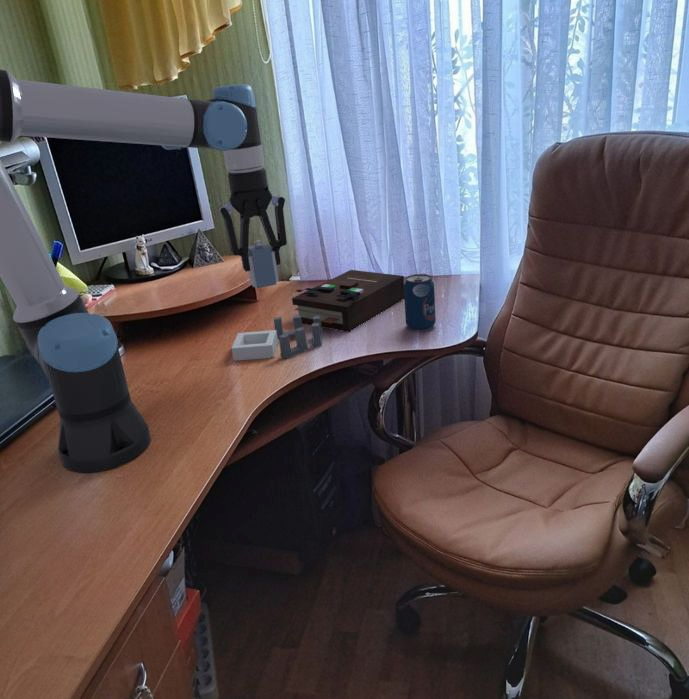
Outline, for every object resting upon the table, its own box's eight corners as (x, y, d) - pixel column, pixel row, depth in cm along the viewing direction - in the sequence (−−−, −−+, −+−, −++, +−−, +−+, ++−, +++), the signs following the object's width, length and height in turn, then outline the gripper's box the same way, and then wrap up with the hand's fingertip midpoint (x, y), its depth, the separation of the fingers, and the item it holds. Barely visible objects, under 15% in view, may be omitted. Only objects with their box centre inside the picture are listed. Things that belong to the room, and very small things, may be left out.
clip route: (269, 360, 145) (266, 339, 143) (276, 336, 158) (274, 317, 156) (320, 356, 144) (317, 335, 142) (323, 333, 157) (320, 313, 155)
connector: (257, 288, 137) (250, 245, 133) (253, 283, 140) (246, 241, 137) (276, 284, 138) (269, 241, 134) (271, 279, 142) (264, 237, 138)
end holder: (233, 360, 147) (231, 348, 145) (240, 345, 155) (238, 333, 154) (273, 357, 146) (271, 345, 145) (278, 342, 154) (276, 330, 153)
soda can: (432, 332, 151) (430, 282, 146) (402, 331, 153) (399, 282, 149) (438, 321, 157) (436, 273, 152) (410, 320, 159) (407, 273, 155)
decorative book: (412, 270, 173) (344, 307, 151) (413, 298, 176) (347, 338, 154) (352, 264, 184) (281, 297, 162) (354, 289, 187) (285, 326, 165)
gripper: (282, 160, 135) (298, 270, 145) (199, 174, 130) (221, 286, 140) (292, 164, 129) (308, 278, 138) (206, 178, 124) (228, 296, 133)
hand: (264, 282), depth 139 cm, fingers closed on connector, 4 cm apart
